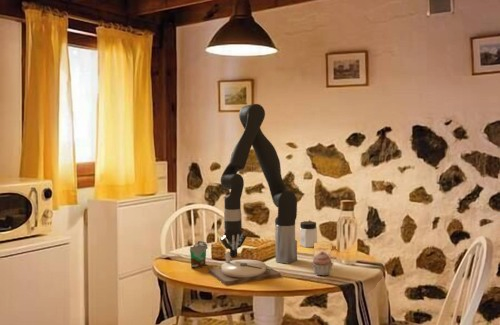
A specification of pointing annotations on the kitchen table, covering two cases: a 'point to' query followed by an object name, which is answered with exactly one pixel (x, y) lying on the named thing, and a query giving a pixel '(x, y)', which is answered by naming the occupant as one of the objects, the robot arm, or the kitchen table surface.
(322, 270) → the cupcake
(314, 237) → the jar
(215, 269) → the board
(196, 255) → the food container
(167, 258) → the kitchen table surface
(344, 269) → the kitchen table surface
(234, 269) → the dial
